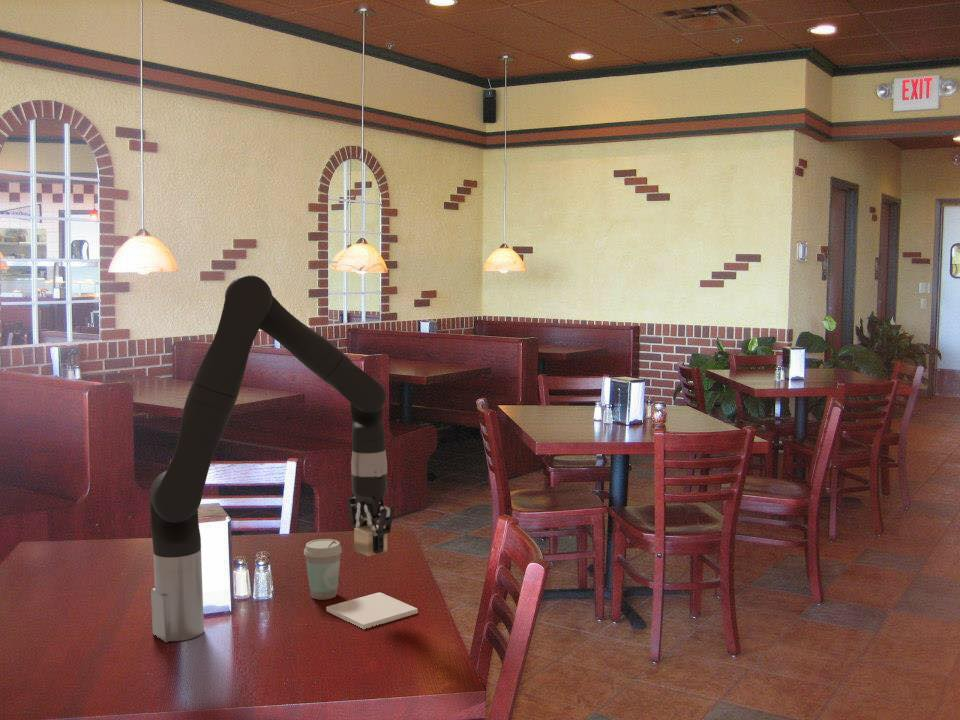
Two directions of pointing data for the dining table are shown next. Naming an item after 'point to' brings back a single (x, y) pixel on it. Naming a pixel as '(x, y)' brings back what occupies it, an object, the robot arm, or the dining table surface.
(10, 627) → the dining table surface
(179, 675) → the dining table surface
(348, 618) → the plate
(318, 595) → the coffee cup
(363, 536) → the maple cube
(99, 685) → the dining table surface
